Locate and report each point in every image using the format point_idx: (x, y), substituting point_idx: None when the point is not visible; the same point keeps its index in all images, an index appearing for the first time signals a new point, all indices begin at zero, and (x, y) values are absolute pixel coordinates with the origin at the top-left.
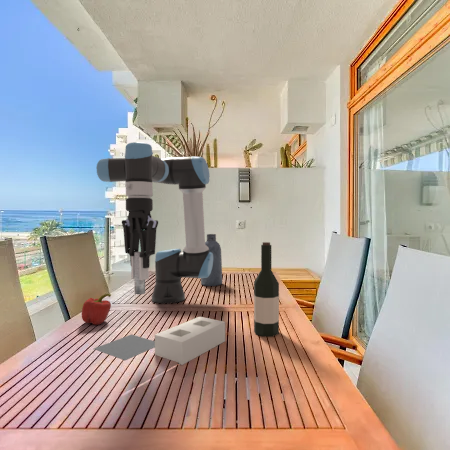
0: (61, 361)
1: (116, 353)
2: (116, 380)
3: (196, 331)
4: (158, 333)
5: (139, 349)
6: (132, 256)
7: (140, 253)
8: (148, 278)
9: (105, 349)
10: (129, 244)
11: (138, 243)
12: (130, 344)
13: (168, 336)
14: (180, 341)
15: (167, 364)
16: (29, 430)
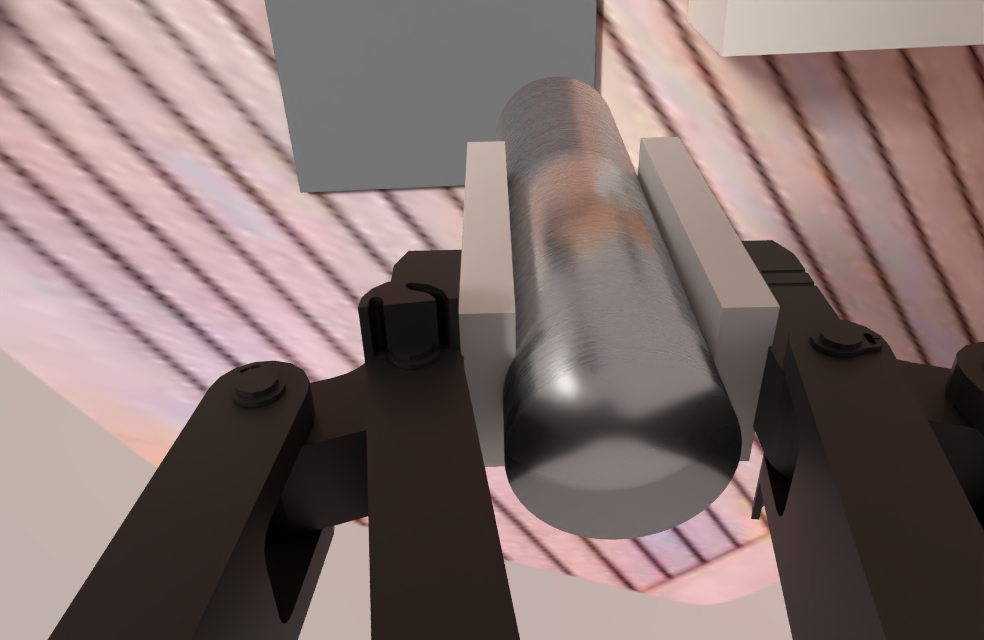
0: (324, 347)
1: None
2: None
3: None
4: (730, 20)
5: (541, 29)
6: (501, 465)
7: (710, 479)
8: (678, 138)
9: (368, 158)
10: (278, 615)
11: (497, 546)
12: (419, 8)
13: (840, 20)
14: (976, 38)
15: (830, 56)
16: (710, 568)
